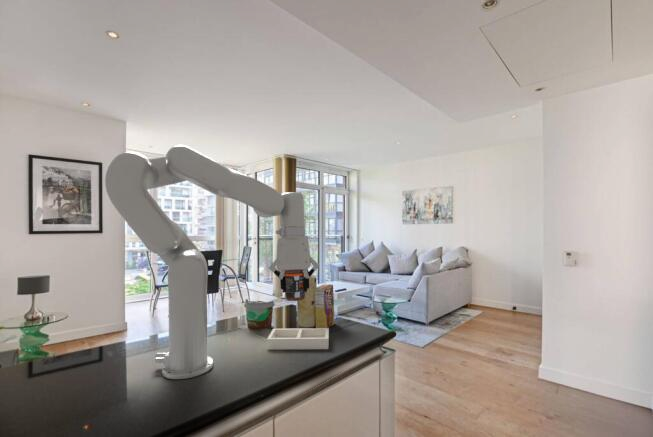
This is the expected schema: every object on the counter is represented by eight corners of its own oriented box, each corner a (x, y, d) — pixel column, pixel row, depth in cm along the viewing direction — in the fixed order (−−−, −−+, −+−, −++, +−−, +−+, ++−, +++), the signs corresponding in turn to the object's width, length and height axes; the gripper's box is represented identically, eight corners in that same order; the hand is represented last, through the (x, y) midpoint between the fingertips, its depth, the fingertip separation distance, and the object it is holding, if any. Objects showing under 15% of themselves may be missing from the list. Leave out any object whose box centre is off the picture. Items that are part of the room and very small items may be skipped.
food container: (237, 329, 117) (237, 302, 117) (246, 324, 122) (246, 298, 123) (267, 332, 113) (267, 304, 113) (274, 326, 119) (274, 300, 119)
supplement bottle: (303, 301, 92) (301, 263, 93) (283, 301, 93) (282, 263, 93) (306, 296, 98) (305, 260, 99) (288, 297, 99) (286, 261, 99)
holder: (267, 349, 97) (267, 339, 97) (273, 338, 107) (273, 328, 107) (328, 349, 96) (328, 338, 96) (328, 337, 106) (328, 328, 106)
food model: (321, 326, 118) (321, 273, 119) (308, 330, 114) (307, 275, 114) (305, 321, 125) (305, 271, 126) (292, 325, 121) (291, 273, 121)
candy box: (324, 322, 123) (324, 283, 124) (334, 323, 121) (334, 284, 122) (314, 329, 115) (314, 287, 116) (325, 330, 113) (324, 288, 114)
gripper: (262, 234, 93) (264, 295, 92) (320, 231, 92) (322, 293, 92) (267, 233, 100) (270, 289, 100) (321, 231, 100) (323, 287, 99)
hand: (295, 290), depth 96 cm, fingers closed on supplement bottle, 6 cm apart
